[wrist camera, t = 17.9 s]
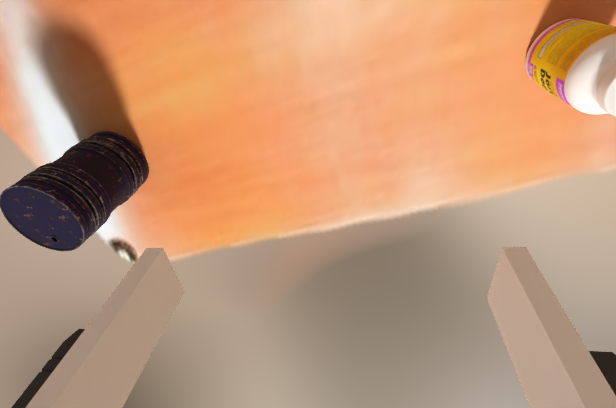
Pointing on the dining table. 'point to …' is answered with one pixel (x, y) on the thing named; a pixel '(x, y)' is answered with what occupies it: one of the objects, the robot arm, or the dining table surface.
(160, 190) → the dining table surface
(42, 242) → the dark ridged cylinder
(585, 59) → the supplement bottle
